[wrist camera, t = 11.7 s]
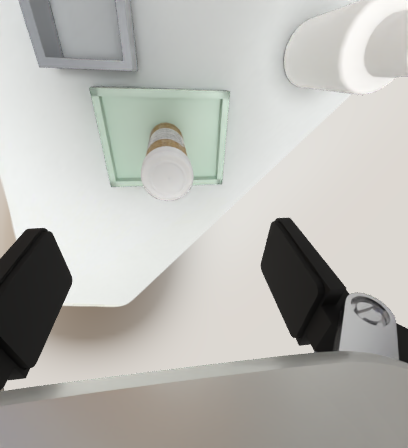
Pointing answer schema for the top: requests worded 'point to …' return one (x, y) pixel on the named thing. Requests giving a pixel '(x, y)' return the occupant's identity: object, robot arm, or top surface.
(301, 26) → the white bottle
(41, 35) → the holder
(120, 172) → the tray
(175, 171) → the sprinkles bottle
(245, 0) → the top surface
